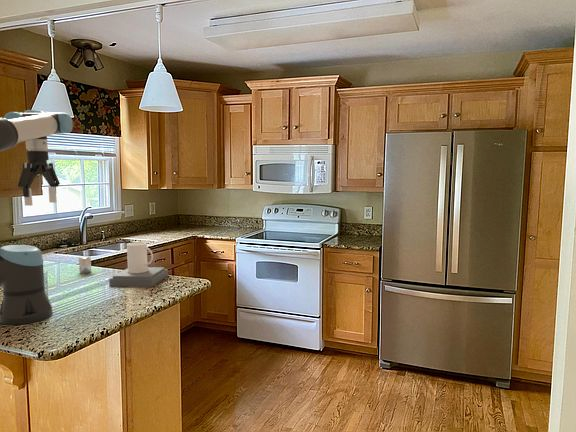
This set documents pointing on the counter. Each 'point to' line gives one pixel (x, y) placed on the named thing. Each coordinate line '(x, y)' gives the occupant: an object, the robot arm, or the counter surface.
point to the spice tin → (84, 265)
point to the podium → (139, 277)
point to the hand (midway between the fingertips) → (41, 204)
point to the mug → (138, 257)
